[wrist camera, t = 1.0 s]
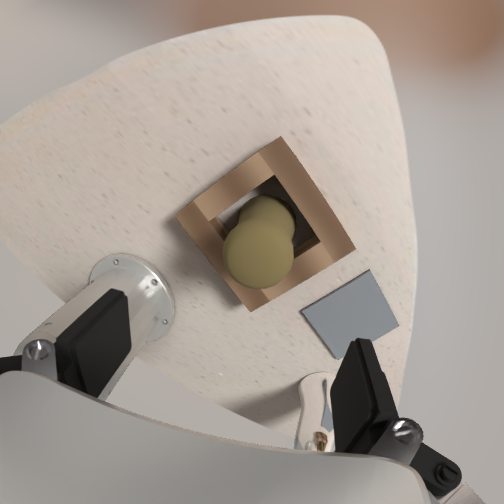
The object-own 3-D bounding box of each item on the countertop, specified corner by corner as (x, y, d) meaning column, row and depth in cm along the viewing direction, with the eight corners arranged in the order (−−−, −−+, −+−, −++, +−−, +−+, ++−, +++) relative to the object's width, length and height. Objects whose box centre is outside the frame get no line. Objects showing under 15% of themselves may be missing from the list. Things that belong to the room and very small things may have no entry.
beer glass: (291, 373, 36) (288, 468, 22) (343, 365, 35) (358, 459, 21) (298, 404, 38) (296, 491, 24) (344, 398, 37) (356, 484, 23)
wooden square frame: (253, 298, 33) (250, 312, 30) (184, 209, 31) (174, 215, 28) (350, 239, 30) (356, 248, 27) (281, 137, 27) (280, 135, 24)
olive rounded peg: (293, 253, 31) (294, 306, 21) (236, 248, 31) (211, 297, 21) (299, 197, 29) (305, 223, 18) (239, 192, 29) (212, 215, 19)
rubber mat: (337, 358, 35) (337, 359, 34) (301, 309, 33) (301, 311, 33) (398, 323, 32) (399, 325, 32) (369, 269, 30) (370, 270, 30)
